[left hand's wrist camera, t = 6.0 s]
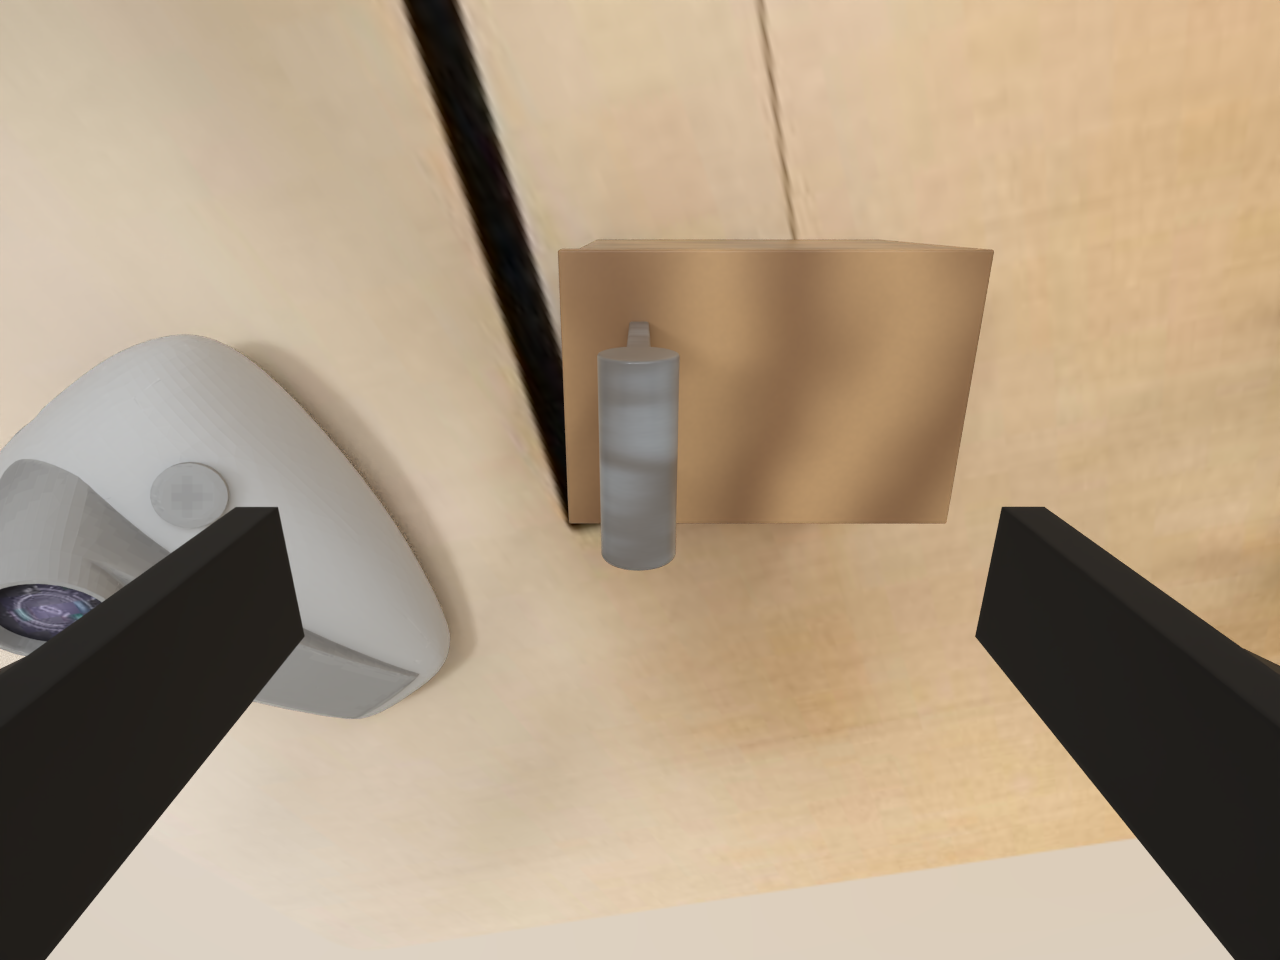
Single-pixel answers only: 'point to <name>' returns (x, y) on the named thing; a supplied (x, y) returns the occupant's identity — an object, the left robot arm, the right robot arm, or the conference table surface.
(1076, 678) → the left robot arm
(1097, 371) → the conference table surface
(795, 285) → the lid
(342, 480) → the projector
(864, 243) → the chest
